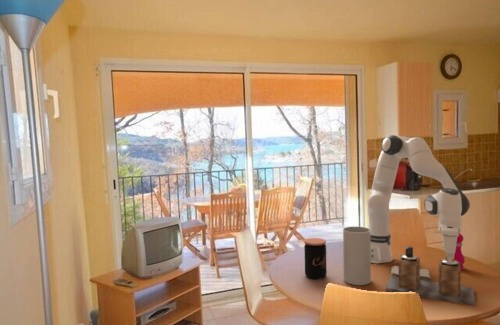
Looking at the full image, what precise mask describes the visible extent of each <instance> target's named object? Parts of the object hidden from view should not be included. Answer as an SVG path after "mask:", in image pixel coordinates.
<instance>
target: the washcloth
mask: <svg viewBox="0 0 500 325" xmlns="http://www.w3.org/2000/svg"><path fill="white" fill-rule="evenodd" d="M430 272H431V271H430V270H429V269H423V268H420V280H422V281H429V282H432V277H431V273H430ZM391 276H394V277H399V265H393V266H391V271H390V277H391Z"/></svg>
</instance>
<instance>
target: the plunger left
mask: <svg viewBox="0 0 500 325" xmlns="http://www.w3.org/2000/svg"><path fill="white" fill-rule="evenodd" d="M404 248H405V249H404V250H405V254H401V255H402V258H403V259H406V260H407V261H411V260H416V259H417V257H418V256H416V255H415V254H414V247H413V246H405V247H404Z"/></svg>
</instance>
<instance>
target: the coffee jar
mask: <svg viewBox="0 0 500 325" xmlns="http://www.w3.org/2000/svg"><path fill="white" fill-rule="evenodd" d="M303 241H304V250H303V251H304V274H305V276H306V278H308V279H311V280H323V279H325V278H326V276H327V272H328V270H327V245H326V243H327V241H326V239H324V238H320V237H309V238H306V239H304V240H303Z"/></svg>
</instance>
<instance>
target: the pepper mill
mask: <svg viewBox="0 0 500 325" xmlns="http://www.w3.org/2000/svg"><path fill="white" fill-rule="evenodd" d="M463 241H464V236H463V235H462V234H461V233H460V234H459V236H458V237H457V242H456V250H455V254H454V260H456V261H458V262H460V266H461V271H463V270H464V264H465V261H466V260H465V257H464V256H465V255H464V254H463V252H462V246H463Z"/></svg>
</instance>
